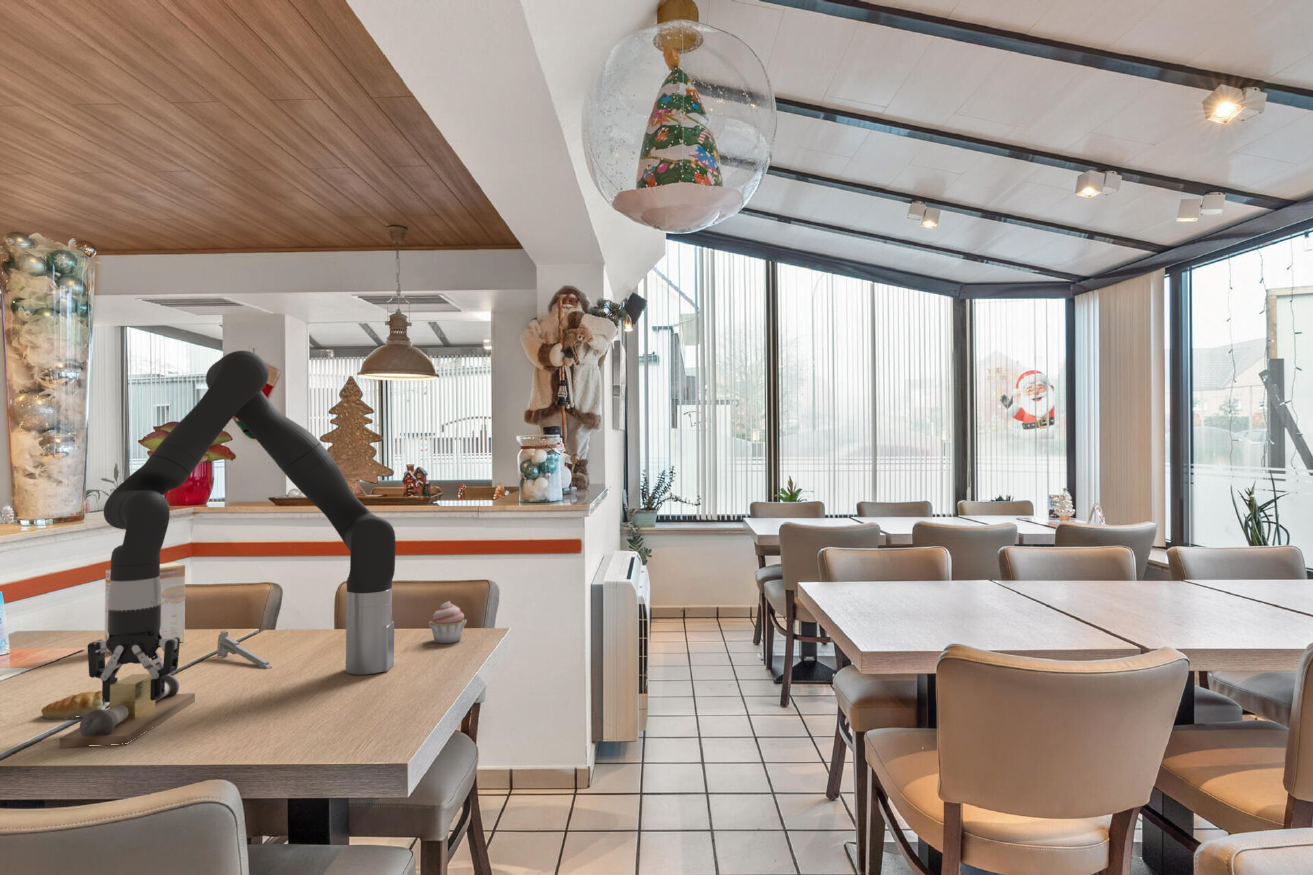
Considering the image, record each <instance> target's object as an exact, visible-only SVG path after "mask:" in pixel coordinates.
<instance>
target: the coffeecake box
mask: <svg viewBox="0 0 1313 875" xmlns="http://www.w3.org/2000/svg"><path fill="white" fill-rule="evenodd" d="M110 581H111V569H106V570H105V582H104V583H105V585H104V586H105V590H104V592H105V593H104V594H105V596H104V600H105V602H104V604H105V605H104V641H105V640H108V638H109V633H108V594H109V588H110ZM160 584H161V627H160V635H161V637H162V638H164V639H172V638H174V637H178V638H179V639H180V642H181V643H184V642H185V635H186V634H185V628H186V626H185V625H186V624H185V623H186V622H185V618H186V617H185V616H186V613H185V607H186V604H185V603H186V602H185V601H186V598H185V597H186V590H185V589H186V564H183V563H179V562H168V563H160ZM160 647H162V646H161V645H160ZM106 651H108V652H107V653H109V652H110V651H109V650H108V648H107V649H106ZM106 651H105V652H106ZM110 654H111V652H110Z"/></svg>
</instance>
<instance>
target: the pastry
mask: <svg viewBox="0 0 1313 875" xmlns="http://www.w3.org/2000/svg"><path fill="white" fill-rule="evenodd" d="M108 706H110V702H105V699H103V697H102V690H98V691H86V692H85V691H82V692H79V693H78V694H72V695H70V696H67V697H65V698H62V699H61V700H57V701H54V702H51V703H49V704H47V705H46V706H45V707H42V709H41V714H42V716H43V717H44V718H45V719H48V720H49V719H50V720H52V719H53V720H54V719H57V720H58V719H60V720H61V719H62V718H63V719H64V718H68V719H71V718H70V717H76V716H80V717H79V718H83V717H84V716H85V715H86V714H88V713H90V712H92V711H94V710H99V709H102V710H106V708H107V707H108ZM76 718H77V717H76ZM63 719H62V720H63Z"/></svg>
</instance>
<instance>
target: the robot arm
mask: <svg viewBox="0 0 1313 875" xmlns="http://www.w3.org/2000/svg"><path fill="white" fill-rule="evenodd" d="M269 375H270V374H269V368H268V366H267V364H266V361H264V359H263V358H262V357H261V356H260V355H258V354H257V353H254V352H253V351H249V350H236V351H232V352H230V353H227V354H225V355H224V356H223V357H221V358H220V359H218V360H217V361H216V362H214V363H213V364H212V365H211V366H210V367H209V369H208V370H207V372H206V376H205V382H206V386H207V390H206V391H205V393H204V394H203V396H202V398H200V400H199V401H198V402H197V403H196V405H195V406H194V407H193V408H192V409H191V410H190V411H189V412H188V413H187V414H186V415H185V417H184V418H183V419H181V420H180V421H179V422H178V423H177V424H176V425H175V426H174V428H172V429H171V431H170V432H169V433H168V434H167V435H166V436H165V437H164V439H162V441H161V442H160V443H159V445H157V447H156V449H155V450H154V451H153V452H152V454H150V456H149V457H148V458H147V460H146V461H145V463H144V464H143V465H142V466H141V467H140V468H138V469H136V470H135V471H134V472H133V473H132V474H131V475H129V477H127V478H126V479H124V480H123V482H121V483H120V484H119V485H118V486H117V487H116V488H115V489H113V491H112V492H111V494H110V495H109V497H107V500H106V501H105V504H104V507H103V518H104V520H105V522H106V523H107V524H109V526H111V527H113V528H115V529H118V530H125V532H124V536H123V537H124V538H123V542H122V544H121V545H118V546H117V547H115V548H114V549H113V550H112V551H111V557H110V570H111V581H110V588H109V594H108V633H109V638H108V640H105V639H104V640H103V639H100V638H99V639H98V640H95V641H92V642H90V643H88V644H87V646H86V647H87V659H88V660H87V662H88V663H87V664H88V676H89V678H97V679H100V680H101V686H102V687H101V689H102V690H101V691H102V697H103V699H105V702H110V685H111V684H113V683H115V682H117V681H118V678H119V677H116V676H117V674H118V673H119V671H120V670H121V667H122V666H123V665H127V664H136V665H137V664H140V665H142V667H143V669H144V670H147V671H148V674H150V675H151V677H152V678H153V679H151V690H150V699H151V700H157V699H159V698H160V697H161V696H162V695H163V694H164V692H165V676H166V675H168V674H169V675H171V674H172V673H173V672H175V671H176V670H178V666H179V655H180V654H179V653H180V639H179V638H178V637H174V638H172V639H164V638H162V637H161V635H160V627H161V584H160V564H161V550H162V547H163V545H164V541H165V537H166V534H167V531H168V527H169V523H170V517H171V516H170V515H171V514H170V507H169V503H168V500H167V499H166V498H165V496H164V495H165V494H166V493H167V492H169V491H172V490H176V489H177V488H179V487H181V486H182V485H183V484H185V482H186V481H187V480H188V478H189V477H190V476H191V475H192V473H193V472H194V470H195V469H196V468H197V466H198V465H199V463H200V462H201V461H202V459H203V458H204V456H206V454H207V452H208V451H209V450H210V448H211V447H212V445H213V444H214V442H215V441H216V439H217V438H218V437H219V436H220V434H221V432H223V430H224V429H225V427H226V426H227V425H228V423H229V422H230V421H231V420H232V419H233V417H235V419H237V420H238V421H239V422H240V423H241V424H242V425H243V426H244V427H245V428H246V429H247V431H249V432H250V433H251V435H252V436H253V437H254V438H255V440H256V441H257V443H258V444H259V445H260V446H261V447H262V449H264V451H265V452H266V453H267V454H268V455H269V456H270V458H271V459H272V460H273V461H274V462H275V464H276V465H277V467H278V468H280V470H281V471H282V472H283V473H284V475H286V477H287V478H288V479H289V480H290V482H292V484H293V485H294V486H295V487H296V488H297V489H298V490H299V491H300V492H301V494H303V495H304V496H305V497H306V498H307V499H308V500H309V501H310V502H311V503H312V504H313V505H315V506H316V507H317V509H319V510H320V511H321V512H322V514H324V516H325V517H326V518H327V519H328V521H329V523H330V524H331V525H332V526H333V528H334V529H335V531H336V533H337V534H338V535H339V537H340V538H341V540H342V541H343V543H344V545H345V546H346V548H347V549H348V550H349V552H350V557H349V558H350V560H349V561H350V562H349V563H350V566H349V573H348V576H347V579H346V602H345V603H346V604H345V605H346V608H345V609H346V618H345V622H346V623H345V627H346V628H345V671H346V673H348V674H349V675H350V674H351V675H371V674H377V673H383V672H385V673H386V672H388V671H389V670H390V669H391V668H392V666H394V664H395V621H394V620H393V616H392V615H393V613H392V609H393V608H392V607H393V606H392V605H393V604H392V603H393V602H392V601H393V598H392V597H393V589H392V588H393V579H394V576H395V568H396V549H397V548H396V532H395V529H394V527H393V525H392V524H391V523H390V521H388V520H387V519H385V518H382V517H380V516H377V515H375V514H374V513H372V512H371V510H369V509H368V508H367V507H366V505H364V504H363V502H362V501H361V500H359V498H358V497H357V496H356V495H355V493H354V492H353V491H352V489H351V488H350V486H349V484H348V482H347V481H346V478H345V477H344V474H343V472H342V471H341V469H340V468H339V465H338V464H337V462H336V461H335V459H334V458H333V456H332V455H331V454H330V453H329V452H328V450H327V449H326V448H325V446H323V444H322V443H321V442H320V441H319V439H318V438H316V437H315V436H314V434H312V433H311V432H310V431H308V429H306V428H304V426H301V425H300V424H298V423H297V422H296V421H293V420H291V419H290V418H289V417H287V415H285V414H283V412H280V410H278V409H277V408H276V407H275V406H274V404H273V403H272V402H271V401H270V400H269V398H268V397H267V396H266V394H265V393H264V392H263V391H262V390H263V389H264V388H265V387H266V385H267V383H268V380H269ZM160 645H161V646H160ZM159 646H160V647H161V650H162V652H164V654H163V660H162V657H161V655H160V654H159V652H158V649H160V648H159ZM107 648H108V650H109V651H110V652H111V653H112V654H111V653H110V654H111V656H110V658H109V659H108V661H107V663H106V655H105V652H106V649H107Z"/></svg>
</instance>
